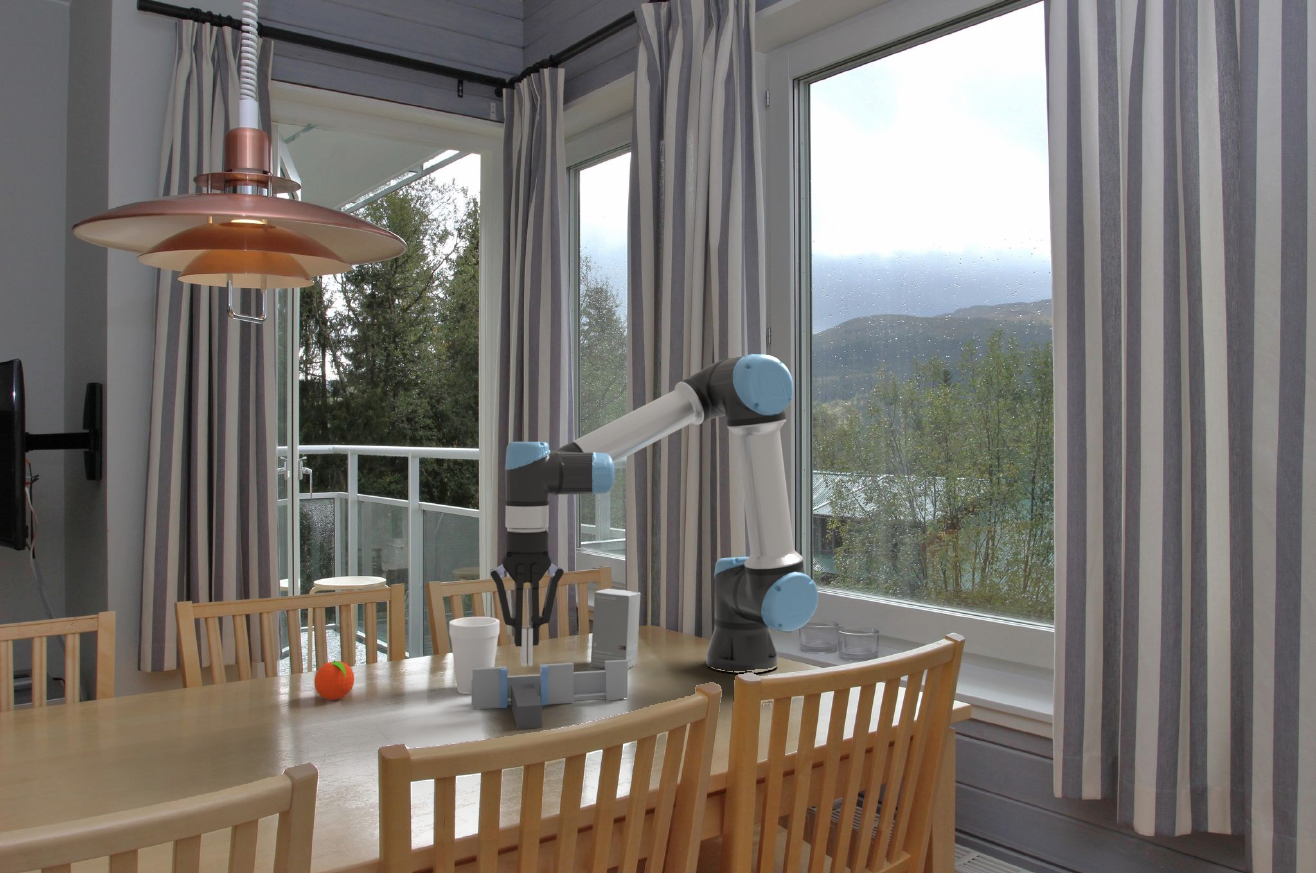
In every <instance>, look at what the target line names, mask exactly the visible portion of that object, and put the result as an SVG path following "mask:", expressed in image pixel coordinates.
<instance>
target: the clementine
mask: <svg viewBox="0 0 1316 873" xmlns="http://www.w3.org/2000/svg"><path fill="white" fill-rule="evenodd" d="M354 674H355V673H354V671H353V669H352V668H351V667H350V666H349V665H348V664H347V663H345V662H343V661H340V660H339V661H338V660H335V659H334V660H333V661H329V662H326V663H324V664H323V665H322V666H321V667H319V669H318V670H317V672H316V674H315V676H314V682H313V683H314V688H315V690H316V693H317V694H318V695H319V696H320V697H322V698H324V699H326V700H330V701H336V700H337V701H338V700H340V699H342V698H344V697H346V696H347V695H348V694H349V693H350V692H351V690H353V689H352V688H353V686H354V683H355V675H354Z"/></svg>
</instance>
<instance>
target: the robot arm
mask: <svg viewBox="0 0 1316 873" xmlns="http://www.w3.org/2000/svg"><path fill="white" fill-rule="evenodd" d="M794 389H795V388H794V380H793V377H792V374H791V373H790V370H789V369H788V367H787V366H786V365H785V364H784V363H783V362H782V361H780V360H779V358H777V357H774V356H772V355H768V354H753V353H751V354H747V355H743V356H735V357H731V358H729V357H727V358H724V359H720V360H717V361H715V362H714V363H711V364H709V365H707V366H706V367H704V368H703V369H701V370H699V371H697V372H695V373H694V374H691V375H690V376H688V377H686V378H684V380H681V381H679V382H678V383H676V384H675V386H674V390H672V391H670V392H668V393H666V394H664V395H663V396H660V397H659V398H656V399H654V400H652V401H650V402H649V403H646V404H645V405H642V406H640V407H638V408H636V409H635V410H633V411H630V412H628V413H627V414H623V415H622V416H620V417H619V418H617V419H614V420H612V421H610V422H609V423H607V424H605V425H603V426H600V427H599V428H597V429H594V430H593V431H590V432H589V433H587V434H584V435H583V436H581V437H579V438H576V439H575V440H573V441H572V442H570V443H567V444H565V445H562V446H561V447H559V448H557V449H555V450H554V449H553V450H550V445H549V443H548V442H547V441H512V442H510V443H508V444H507V446H506V450H505V451H506V454H505V465H504V471H505V517H504V518H505V523H504V525H505V528H507V529H508V530H506V532H505V534H504V535H505V536H504V537H505V539H504V540H505V541H504V545H505V546H504V557H503V559H502V560H501V565H499V566H497V567H495V568H492V569H490V571H489V575H490V577H491V578H492V580H493V581H494V583H495V587H496V591H497V592H496V593H497V596H498V600H499V604H500V609H501V613H502V614H501V615H502V617H503V618H502V619H503V622H504V624H505V625H506V626H510V627H512V628H513V642H514V645H515V647H520V648H519V649H520V650H519V651H520V652H519V654H520V655H519V656H520V657H519V658H520V666H521V667H527V666H528V667H533V666H534V665H533V664H534V660H533V659H534V658H533V656H534V655H533V654H534V653H533V652H534V651H533V650H534V648H533V647H534V646H539V643H540V627H541V626H542V625H545V624H549V622H550V621H551V615H552V612H553V607H554V603H555V602H554V601H555V598H556V594H557V588H558V585H559V582H560V579H561V578H562V577H563V576H564V573H565V571H564V570H563V568H562V567H560V566H557V565H555V564H553V563H552V559H551V557H550V554H549V532H548V530H546V529H548V528H549V525H550V524H549V523H550V522H549V520H550V519H549V516H550V515H549V505H550V502H549V501H550V500H549V497H550V496H558V495H559V496H560V495H563V496H564V495H565V496H566V495H592V496H595V495H601V494H607V493H609V492H611V491H612V488H613V486H614V483H615V475H616V471H615V469H616V468H615V463H618V461H621V460H623V459H625V458H626V457H629V456H631V455H633V454H635V453H637V452H638V451H640V450H642V449H644V448H646V447H649V446H650V445H652V444H654V443H656V442H658V441H661V439H664V438H665V437H667V436H669V435H671V434H674V433H675V432H677V431H679V430H680V429H683V428H684V427H686V426H689V425H690V424H693V425H696V426H698V425H701V424H703V423H705V422H707V421H709V420H712V419H715V418H716V419H717V418H721V417H725V419H726V420H725V421H726V427H727V429H728V430H730V431H731V432H732V433H733V434H734V435H735V436H736V445H737V453H738V460H739V461H738V462H739V470H740V478H741V486H742V495H743V503H744V510H745V518H746V520H745V521H746V527H747V535H748V543H749V551H750V554H749V556H737V557H733V556H732V557H724V558H719V559H717V561H716V562H715V565H714V567H715V568H714V574H713V579H714V629H713V633H712V634H711V638H710V642H709V645H708V648H707V651H706V657H705V659H706V661H705V665H706V664H707V665H706V666H707V667H708V666H710V667H713V668H715V669H721V670H725V671H733V672H734V671H745V672H739V673H747V672H752V671H747V670H755V669H768V668H772V667H774V666H777V664H778V665H779V655H778V651H777V649H776V648H777V647H776V645H775V642H774V639H773V636H772V632H771V630H777V631H784V632H791V631H795V630H799V629H801V628H802V627H804V626H805V625H807V623H809V622H810V619H811V618H812V616H813V615H814V614H815V612H816V609H817V607H818V604H819V592H818V588H817V584H816V583H815V581H814V580H813V579H812V578H811V577H810V576H809V575H808V574H805V565H804V558H803V556H802V555H801V554H800V553H798V552H797V551H796V550H795V548H794V540H793V538H794V537H793V530H792V523H791V512H790V506H789V505H790V504H789V499H788V498H789V497H788V489H787V488H788V487H787V481H786V473H785V472H786V471H785V464H784V456H783V455H784V454H783V446H782V439H781V438H782V436H781V428H782V427H783V425H784V424H785V423H786V422H787V414H786V413H787V412H786V408H788V406H789V405H790V402H791V401H792V399H793V396H794ZM548 570H549V571H548ZM505 572H507V574H508V575H509V577H510V578H511V579H512V580H513V582H514V603H513V604H514V609H513V610H514V612H513V617H512V615H511V612H510V607H509V601H508V598H507V593H506V589H505V584H504V581H503V579H505ZM547 572H548V575H549V577H550V578H549V581H548V585H547V589H546V593H545V598H544V602H543V607H542V610H541V615H540V581H541V580H542V578H544V576H545V574H546V573H547ZM526 583H529V588H530V590H529V592H530V598H529V599H530V625H526V626H525V625H523V614H524V613H523V611H524V609H523V608H524V607H523V606H524V588H525V586H524V584H526Z"/></svg>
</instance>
